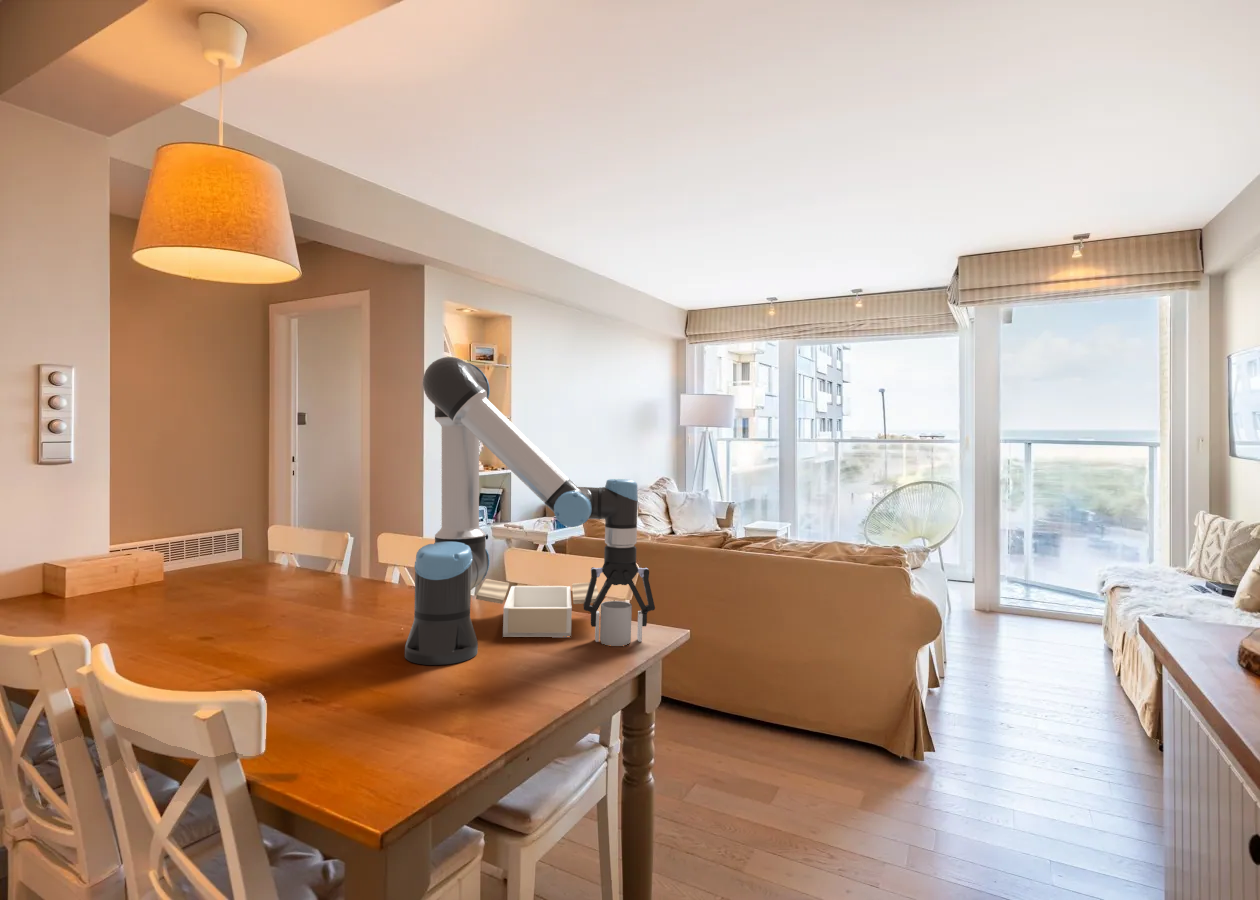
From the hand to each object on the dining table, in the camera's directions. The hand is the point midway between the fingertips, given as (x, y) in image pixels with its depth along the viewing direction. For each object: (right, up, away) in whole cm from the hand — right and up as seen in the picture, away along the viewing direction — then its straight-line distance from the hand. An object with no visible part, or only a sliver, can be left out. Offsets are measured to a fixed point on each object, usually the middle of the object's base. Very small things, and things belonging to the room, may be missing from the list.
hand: (618, 639), depth 156 cm
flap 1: (-32, +10, +12) cm, 35 cm away
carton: (-20, 0, +13) cm, 24 cm away
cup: (0, 0, 0) cm, 0 cm away
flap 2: (-9, +9, +14) cm, 19 cm away
